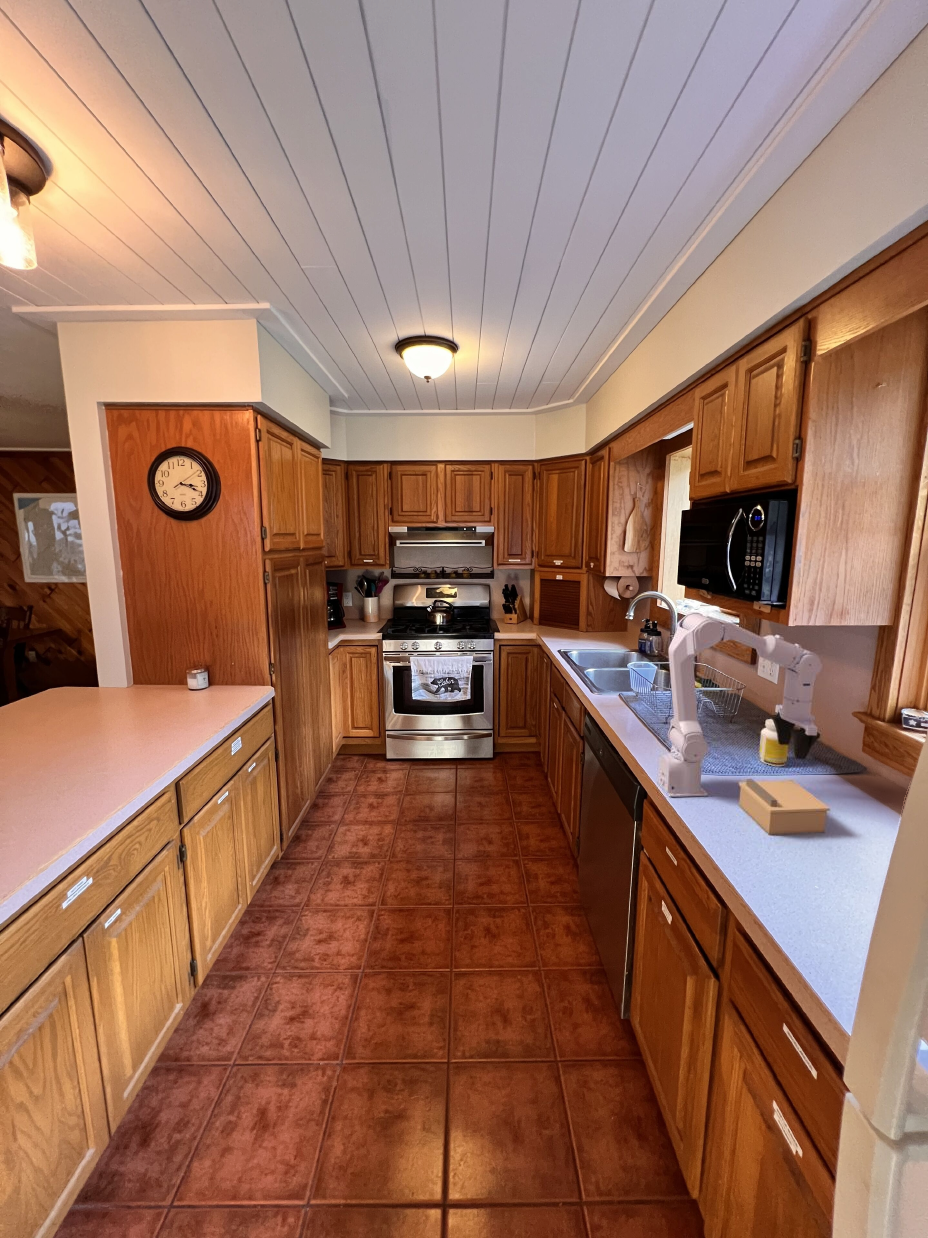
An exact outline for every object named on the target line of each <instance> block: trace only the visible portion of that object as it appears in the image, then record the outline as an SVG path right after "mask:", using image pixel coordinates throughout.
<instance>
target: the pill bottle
mask: <svg viewBox="0 0 928 1238" xmlns="http://www.w3.org/2000/svg"><path fill="white" fill-rule="evenodd" d="M764 724H765V725H764V726H765V727H764V728H762V730H761V731H760V741H759V754H758V759H759V762H761V763H763V764H765V765H767V764H768V765H767V766H770V765H771V767H778V768H779V767H783V766H786V765H787V761H788V749H789V745H780V744H779V742H778V737H777V732H776V728H775V725H774V722H773V720H772V718H769V719H768V718H767V719H766V720H765V723H764Z"/></svg>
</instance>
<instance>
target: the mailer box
mask: <svg viewBox="0 0 928 1238" xmlns="http://www.w3.org/2000/svg"><path fill="white" fill-rule="evenodd" d="M738 801H739V803H738V807H740V808H741V810H742V811H743V812H745V814H747V815H748V817H750V818H751V819H752V820H753V821H754V822H755V823H756V824H757V825H758V826H759V827H760V828H761V829H762V830H763V832H765V833H766V834H767V835H768V836H771V835H772V836H774V835H799V834H800V835H803V834H822V833H823V834H824V833H825V830H826V823H827V814H828V811H812V812H785V813H770V812H769V811H767V810H766V809H765V808H764V807H763V806H762V805H761V804H760V803H759V802H757V801H756V800H755V799H754V798H753V797H752V796H751V795H750V794H749V793H748V792H746V791H745V790H744V789H743V788H742V787H741V786H740V791H739V800H738Z"/></svg>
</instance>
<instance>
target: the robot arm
mask: <svg viewBox="0 0 928 1238" xmlns="http://www.w3.org/2000/svg"><path fill="white" fill-rule="evenodd" d="M728 640H733V641H735V642H738V643H741V644H743V645H745V646H746V647H747V646H748V647H749V648H752V649H755V650H756V653H757V656H758V657H760V659H764V660H766V661H769V662H770V663H772V664H775V665H778V666H781V667H782V668H785V676H784V677H785V678H784V688H783V696H782V704H775V710H774V711H775V713H777V714H771V715H770V716H771V718H770V719H772V720H773V722H774V725H775V728H776V732H777V737H778V742H779V744H780V745H788V746H789V745H790V743H791V739H792V740H793V747H794V758H796V759H798V760H805V759H807V757H808V756H809V755H808V754H809V753H810V750H811V748H812V747H813V745H814V744H815V743H816V741H818V740H819V739H820V737H821V734H820V733H819V732H818V727H817V726H816V725H815V723H814V721H815V720H816V719H815V718H816V717H815V716H814V715H812V714H811V712H812V703H813V694H814V686H815V685H814V684H815V682H816V679H817V675H818V674H819V673H820V672H821V671H822V668H823V666H824V665H823V663H821V659H820V657H819V655H817V654H816V653H814V652H812V651H809V650H807V649H804V648H802V645H800V644H798V643H794V644H793V643H791V642H788V641H786V640H785V638H784V637H783V636H782V635H778V634H775V635H771V634H769V635H766V636H761V635H758V634H756V633H754V632H752V631H749V630H747V629H745V628H743V627H741V626H739V625H736V624H734V623H732V622H730V621H727V620H724V619H721V618H717V617H713V616H709V615H706V616H705V615H703V614H702V613H700V612H696V611H695V612H690V613H688V614H686V615H684V617H682V618H681V619H680V620H679V621H678V622H677V624H676V631H675V632H674V635H673V638H672V640H671V641H670V644H669V646H668V651H667V652H668V662H669V672H670V673H669V674H670V676H669V677H670V683H671V685H670V686H671V697H672V708H673V709H672V710H673V718H671V719H670V727H669V729H668V731H667V739H668V741H669V742H670V744H671V748H670V752H669V753H667V754H662V755H661V756H660V757H659V760H658V774H657V778H656V782H657V784H658V785H659V786H660V787H661V788H662V790H663V791H664V792H665V793H666V795H668V797H671V798H676V797H678V798H681V797H702V796H703V797H705V796H708V792H707V791H706V790H704V788H703V787H702V786H701V785H702V784H701V783H702V768H703V767H702V766H703V760H704V759H705V757H707V754H708V752H709V748H708V747H709V746H708V743H707V742H706V740H705V739H704V732H703V730H702V728H701V725H700V723H699V721H698V718H699V717H698V709H697V708H698V706H697V693H696V681H695V669H694V667H695V666H694V658H695V657H696V656H697V655H698V654H699V653H702V652H703V651H705V650H707V649H709V648H711V647H713V646H715V645H717V644H718V643H719V642H722V643H726V642H727V641H728ZM795 726H797V727H798V728H799V729H794V727H795Z"/></svg>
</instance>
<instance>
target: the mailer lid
mask: <svg viewBox="0 0 928 1238" xmlns="http://www.w3.org/2000/svg"><path fill="white" fill-rule="evenodd" d="M738 786H740V788H741V787H742V788H743V789H744V790H745V791H746V792H748V793H749V794H750V795H751V796H752V797H753V798H754V799H755V800H756V801H757V802H759V803H760V804H761V805H762V806H763V807H764V808H765V809H766V810H767V811H769V812H770V813H785V812H812V811H827V812H830V811H831V810H830V809H831V808H830V807H829V806H828V805H826V804H825V803H824V802H822V801H821V800H819V799H818V798H816V796H814V795H813V794H812V793H810V792H809V791H808V790H806V789H805V788H803V786H801V785H800V784H798V783H797V782H796V781H794V780H763V781H755V780H754V779H753V778H746V781H740V782H738Z"/></svg>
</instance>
